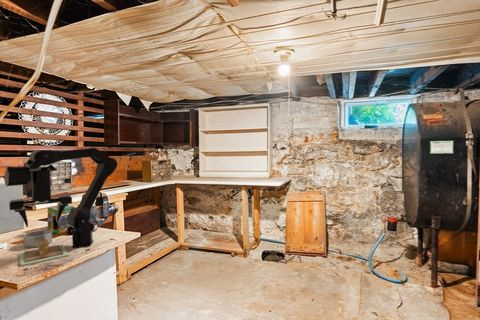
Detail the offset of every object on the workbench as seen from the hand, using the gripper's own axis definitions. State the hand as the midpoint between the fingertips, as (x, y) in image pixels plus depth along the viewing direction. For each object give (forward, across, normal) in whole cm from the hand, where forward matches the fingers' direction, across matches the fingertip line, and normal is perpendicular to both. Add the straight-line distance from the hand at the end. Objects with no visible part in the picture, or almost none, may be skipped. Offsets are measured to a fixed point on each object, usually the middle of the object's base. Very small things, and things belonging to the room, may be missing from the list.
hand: (42, 224), depth 102 cm
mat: (+12, 0, 0) cm, 12 cm away
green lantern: (+12, -10, -32) cm, 35 cm away
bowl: (+12, 0, -16) cm, 20 cm away
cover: (+11, 0, 0) cm, 11 cm away
